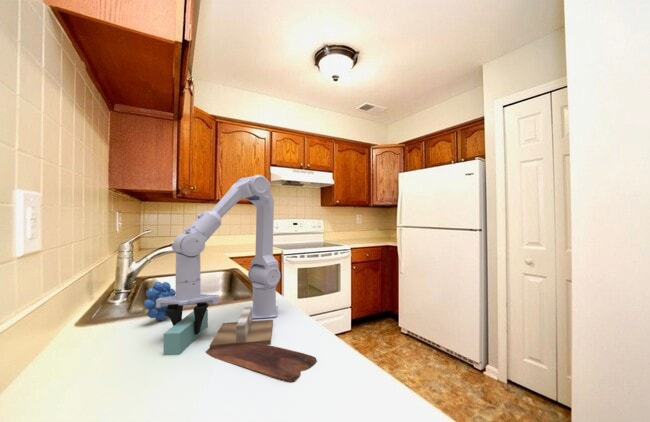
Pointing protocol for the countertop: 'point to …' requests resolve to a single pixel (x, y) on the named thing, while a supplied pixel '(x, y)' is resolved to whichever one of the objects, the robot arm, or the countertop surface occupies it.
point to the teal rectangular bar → (182, 334)
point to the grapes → (156, 293)
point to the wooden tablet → (265, 359)
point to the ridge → (243, 331)
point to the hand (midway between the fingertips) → (188, 333)
